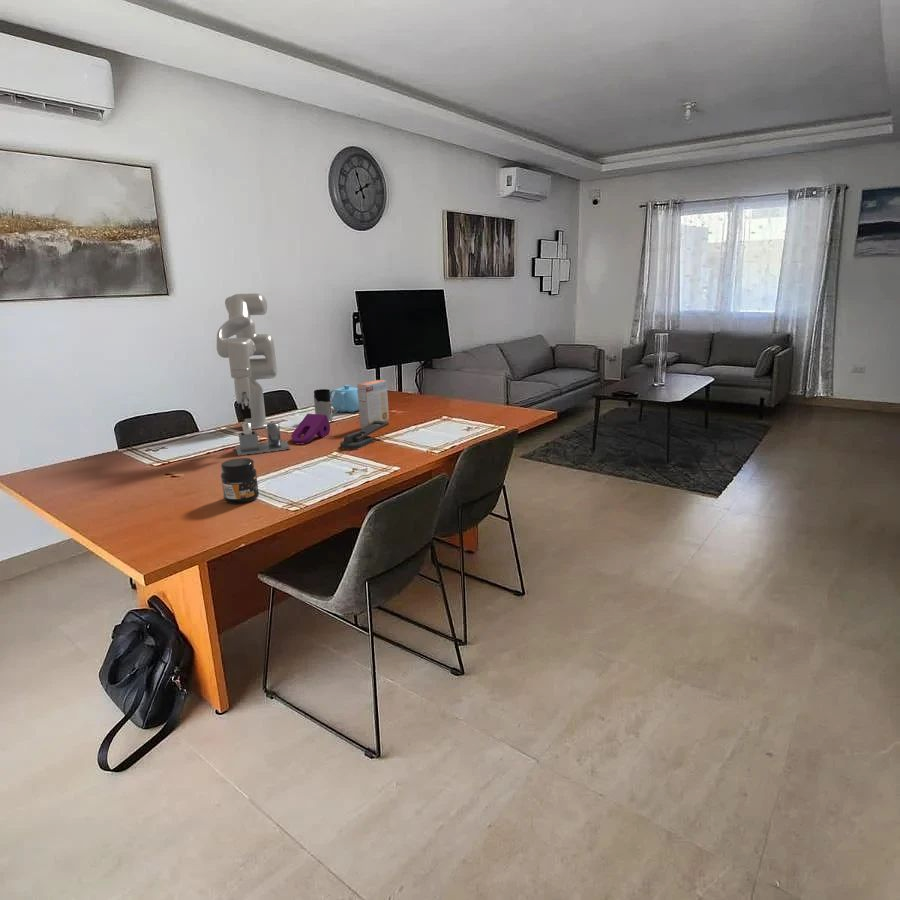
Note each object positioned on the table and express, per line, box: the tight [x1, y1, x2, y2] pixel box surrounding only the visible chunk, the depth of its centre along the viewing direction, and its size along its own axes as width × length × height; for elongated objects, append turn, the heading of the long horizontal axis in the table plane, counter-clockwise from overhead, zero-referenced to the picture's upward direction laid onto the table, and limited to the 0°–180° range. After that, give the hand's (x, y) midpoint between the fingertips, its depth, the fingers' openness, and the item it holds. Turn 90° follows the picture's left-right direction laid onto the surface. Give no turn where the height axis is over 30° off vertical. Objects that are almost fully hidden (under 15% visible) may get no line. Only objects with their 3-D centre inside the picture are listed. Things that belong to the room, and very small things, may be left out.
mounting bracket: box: [290, 413, 331, 444], centre depth 257 cm, size 10×8×18 cm
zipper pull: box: [340, 421, 390, 450], centre depth 249 cm, size 9×7×25 cm
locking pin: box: [241, 422, 253, 435], centre depth 239 cm, size 3×3×10 cm
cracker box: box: [356, 379, 390, 430], centre depth 273 cm, size 14×6×21 cm, turn 144°
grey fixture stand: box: [234, 422, 291, 457], centre depth 241 cm, size 12×20×10 cm, turn 114°
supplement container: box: [220, 457, 260, 505], centre depth 185 cm, size 10×10×12 cm
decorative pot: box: [330, 384, 359, 414], centre depth 310 cm, size 16×16×14 cm
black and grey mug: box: [313, 388, 343, 421], centre depth 287 cm, size 9×14×15 cm, turn 96°
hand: (245, 415), depth 237 cm, fingers open, 9 cm apart
